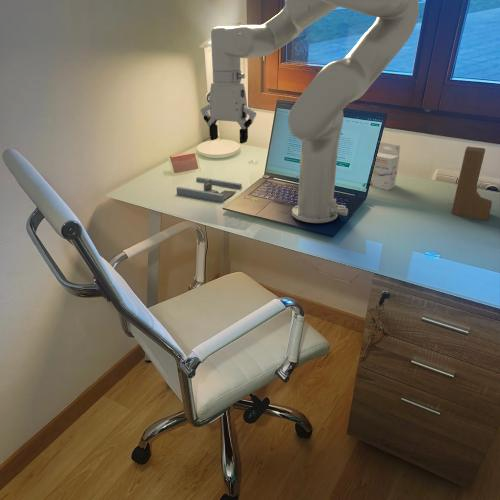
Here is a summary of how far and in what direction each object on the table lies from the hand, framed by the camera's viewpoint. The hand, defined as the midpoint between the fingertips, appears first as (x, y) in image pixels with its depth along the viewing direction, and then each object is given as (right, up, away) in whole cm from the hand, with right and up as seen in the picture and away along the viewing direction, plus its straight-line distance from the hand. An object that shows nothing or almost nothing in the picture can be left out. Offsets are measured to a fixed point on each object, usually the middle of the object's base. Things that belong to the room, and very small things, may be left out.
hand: (228, 140), depth 127 cm
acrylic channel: (-6, -13, +10) cm, 18 cm away
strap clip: (-7, -14, +11) cm, 19 cm away
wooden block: (+66, -22, -7) cm, 70 cm away
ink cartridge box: (+46, -13, +11) cm, 49 cm away
